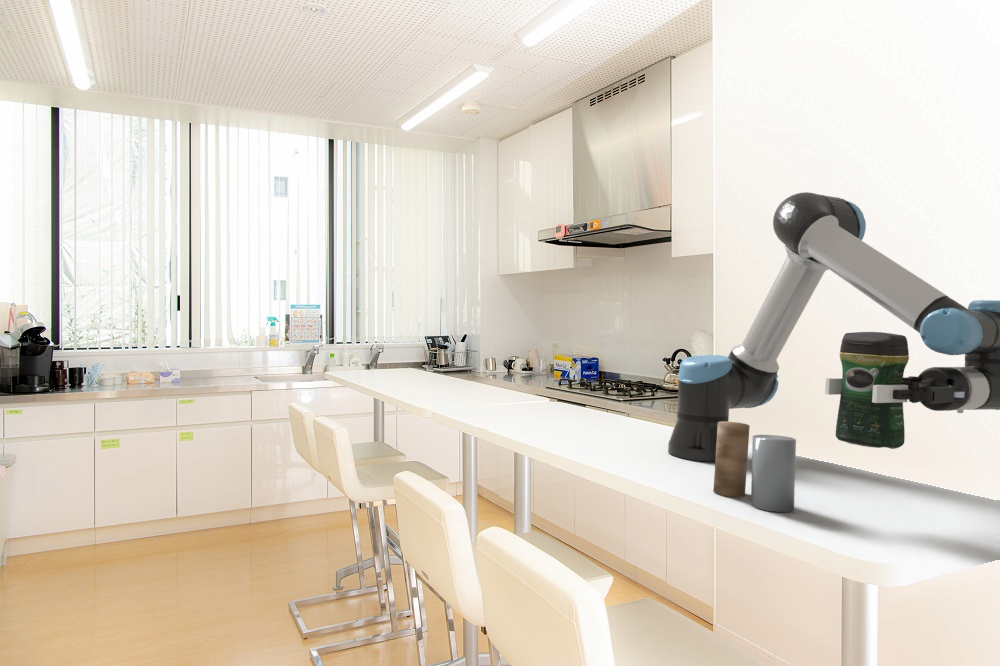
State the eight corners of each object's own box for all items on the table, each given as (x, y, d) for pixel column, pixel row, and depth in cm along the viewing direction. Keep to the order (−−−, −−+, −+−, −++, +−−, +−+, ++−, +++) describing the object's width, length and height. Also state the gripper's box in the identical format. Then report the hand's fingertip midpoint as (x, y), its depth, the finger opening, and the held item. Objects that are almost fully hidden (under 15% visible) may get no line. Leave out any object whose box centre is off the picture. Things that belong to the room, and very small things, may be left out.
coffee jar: (912, 448, 106) (919, 333, 105) (885, 452, 101) (892, 333, 101) (853, 436, 114) (859, 330, 113) (826, 440, 110) (832, 330, 109)
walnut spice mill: (707, 489, 124) (711, 421, 123) (731, 488, 126) (735, 421, 125) (726, 498, 118) (731, 427, 118) (751, 496, 120) (756, 426, 120)
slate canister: (742, 502, 116) (743, 435, 116) (771, 499, 119) (773, 433, 119) (773, 513, 110) (774, 442, 110) (803, 509, 112) (805, 440, 112)
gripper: (1014, 421, 103) (908, 425, 96) (893, 401, 123) (798, 403, 116) (1017, 374, 103) (911, 374, 95) (896, 361, 123) (801, 361, 116)
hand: (850, 390), depth 106 cm, fingers closed on coffee jar, 8 cm apart
